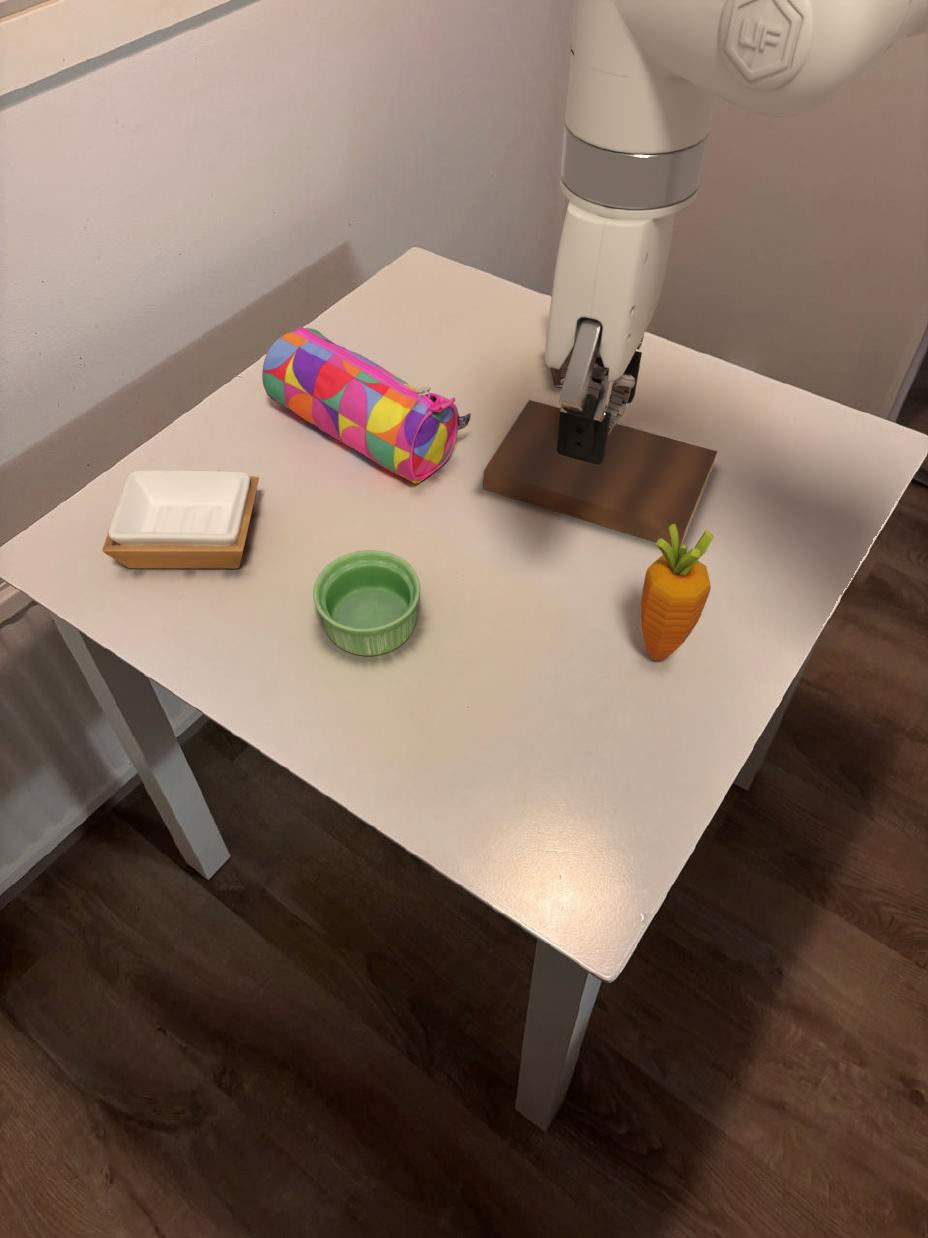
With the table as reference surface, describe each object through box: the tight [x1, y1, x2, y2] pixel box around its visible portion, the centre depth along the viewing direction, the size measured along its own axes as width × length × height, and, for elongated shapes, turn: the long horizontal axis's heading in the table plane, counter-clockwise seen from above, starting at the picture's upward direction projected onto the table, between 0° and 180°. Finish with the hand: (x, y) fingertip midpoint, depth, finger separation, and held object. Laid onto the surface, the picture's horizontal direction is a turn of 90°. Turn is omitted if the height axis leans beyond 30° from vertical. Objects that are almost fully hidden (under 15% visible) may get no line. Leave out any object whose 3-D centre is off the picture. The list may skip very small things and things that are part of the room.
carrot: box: [640, 524, 714, 661], centre depth 70 cm, size 5×5×15 cm
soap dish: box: [102, 469, 260, 570], centre depth 83 cm, size 12×10×5 cm
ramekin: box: [312, 549, 421, 657], centre depth 77 cm, size 9×9×4 cm
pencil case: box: [261, 326, 472, 484], centre depth 91 cm, size 22×9×9 cm, turn 53°
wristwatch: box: [588, 363, 635, 435], centre depth 60 cm, size 4×6×5 cm, turn 146°
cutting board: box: [483, 399, 718, 550], centre depth 89 cm, size 20×12×2 cm, turn 66°
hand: (596, 424), depth 62 cm, fingers closed on wristwatch, 6 cm apart
